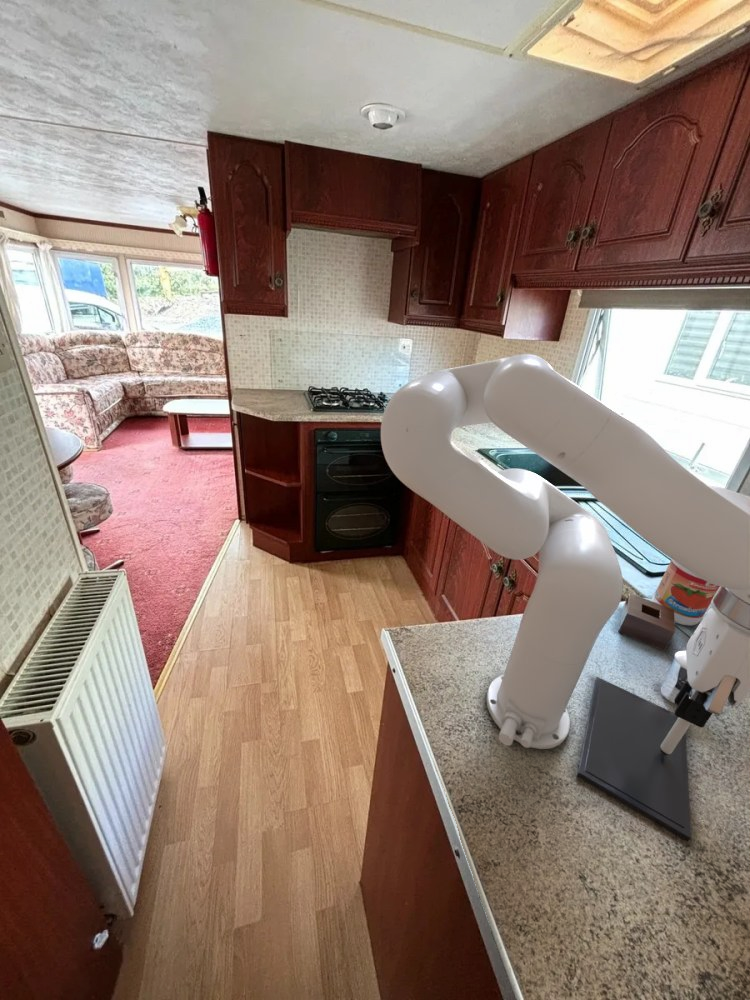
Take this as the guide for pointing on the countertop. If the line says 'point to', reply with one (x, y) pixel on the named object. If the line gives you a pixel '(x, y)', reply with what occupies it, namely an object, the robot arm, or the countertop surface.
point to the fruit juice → (684, 594)
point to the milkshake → (675, 676)
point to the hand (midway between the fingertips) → (687, 713)
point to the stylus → (675, 735)
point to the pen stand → (647, 621)
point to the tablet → (636, 757)
